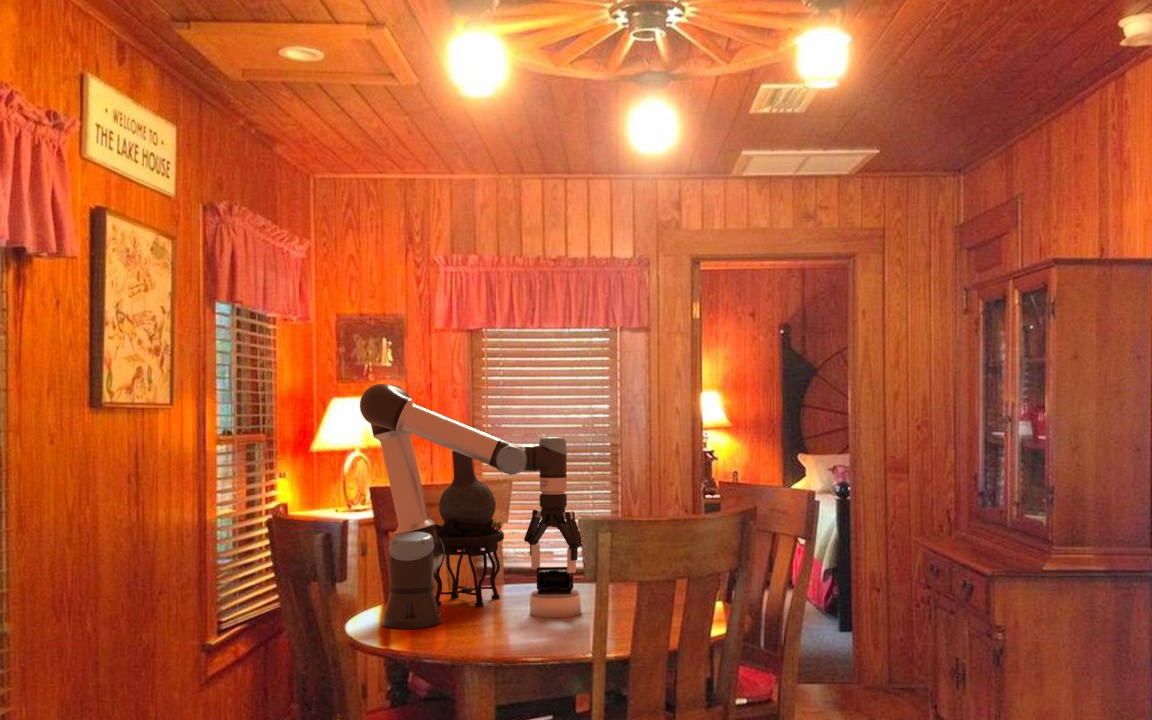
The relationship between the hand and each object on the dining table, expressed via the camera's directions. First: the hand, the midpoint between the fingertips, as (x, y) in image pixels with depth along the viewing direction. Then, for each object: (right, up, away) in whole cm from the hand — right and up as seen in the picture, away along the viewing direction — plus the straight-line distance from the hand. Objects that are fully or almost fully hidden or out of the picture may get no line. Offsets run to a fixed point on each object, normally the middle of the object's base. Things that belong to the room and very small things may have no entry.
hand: (553, 570), depth 292 cm
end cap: (0, -6, 0) cm, 6 cm away
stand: (+1, -12, -1) cm, 12 cm away
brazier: (-26, -14, +20) cm, 36 cm away
